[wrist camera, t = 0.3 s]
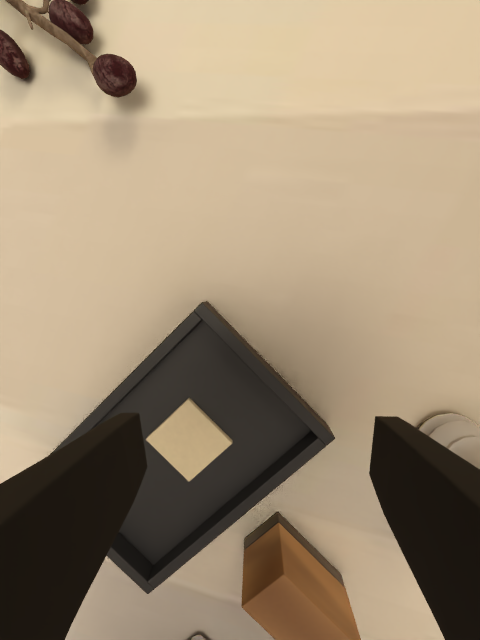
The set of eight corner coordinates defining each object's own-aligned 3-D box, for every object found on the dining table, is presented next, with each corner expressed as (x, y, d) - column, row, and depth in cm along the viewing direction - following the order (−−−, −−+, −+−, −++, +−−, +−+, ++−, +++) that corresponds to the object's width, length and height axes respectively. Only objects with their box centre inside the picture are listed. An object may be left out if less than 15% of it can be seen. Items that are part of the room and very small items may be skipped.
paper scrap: (190, 478, 19) (188, 482, 19) (147, 436, 19) (145, 439, 19) (232, 440, 19) (232, 443, 18) (189, 396, 18) (188, 399, 18)
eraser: (307, 600, 20) (321, 684, 16) (244, 538, 20) (241, 607, 16) (341, 574, 20) (365, 653, 16) (277, 511, 20) (283, 574, 15)
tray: (156, 570, 21) (147, 595, 19) (43, 463, 20) (25, 479, 19) (328, 425, 19) (335, 438, 17) (206, 301, 18) (201, 302, 16)
